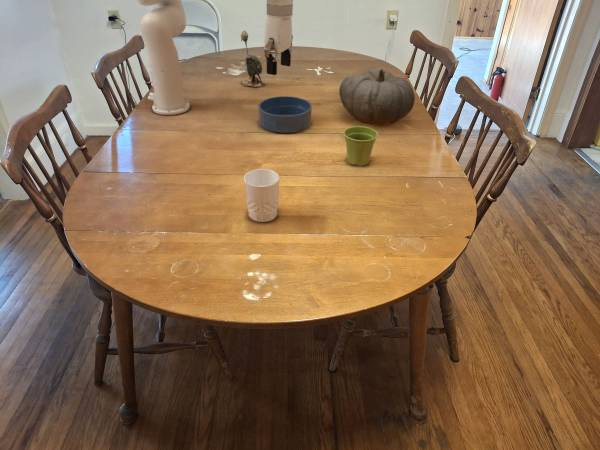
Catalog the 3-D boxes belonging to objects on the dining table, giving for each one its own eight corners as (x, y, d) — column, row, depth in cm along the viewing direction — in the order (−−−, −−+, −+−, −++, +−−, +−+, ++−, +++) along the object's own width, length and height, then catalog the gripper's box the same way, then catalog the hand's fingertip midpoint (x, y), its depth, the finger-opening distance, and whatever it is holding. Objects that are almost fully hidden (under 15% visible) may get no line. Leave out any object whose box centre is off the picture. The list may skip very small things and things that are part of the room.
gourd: (326, 119, 148) (337, 63, 140) (342, 104, 169) (353, 55, 161) (403, 138, 143) (419, 81, 135) (409, 120, 165) (424, 71, 157)
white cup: (246, 205, 112) (244, 169, 106) (279, 204, 112) (278, 168, 106) (246, 224, 105) (243, 186, 99) (280, 223, 106) (280, 185, 100)
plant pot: (352, 172, 126) (355, 143, 121) (335, 157, 132) (337, 129, 127) (381, 165, 129) (384, 136, 124) (362, 151, 136) (365, 123, 131)
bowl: (249, 128, 148) (248, 110, 144) (273, 109, 161) (273, 93, 157) (298, 138, 142) (298, 120, 139) (319, 118, 155) (319, 101, 152)
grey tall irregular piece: (249, 91, 176) (247, 36, 164) (238, 82, 184) (235, 29, 172) (269, 88, 179) (267, 33, 167) (257, 79, 187) (255, 26, 175)
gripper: (281, 3, 140) (280, 60, 150) (253, 13, 127) (254, 75, 137) (303, 6, 138) (301, 64, 148) (278, 17, 125) (277, 80, 135)
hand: (278, 69), depth 143 cm, fingers open, 9 cm apart
